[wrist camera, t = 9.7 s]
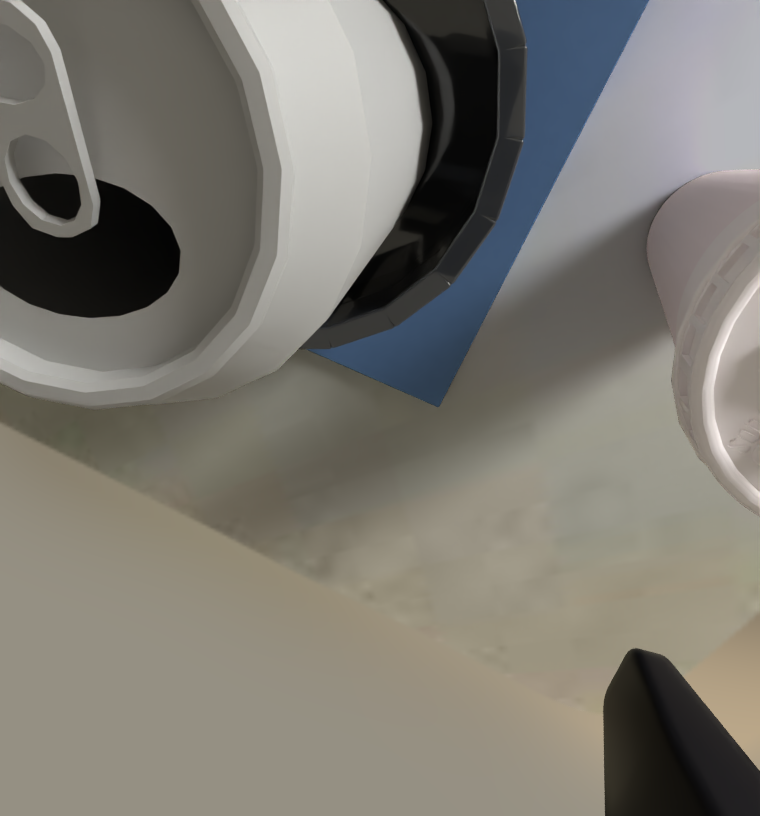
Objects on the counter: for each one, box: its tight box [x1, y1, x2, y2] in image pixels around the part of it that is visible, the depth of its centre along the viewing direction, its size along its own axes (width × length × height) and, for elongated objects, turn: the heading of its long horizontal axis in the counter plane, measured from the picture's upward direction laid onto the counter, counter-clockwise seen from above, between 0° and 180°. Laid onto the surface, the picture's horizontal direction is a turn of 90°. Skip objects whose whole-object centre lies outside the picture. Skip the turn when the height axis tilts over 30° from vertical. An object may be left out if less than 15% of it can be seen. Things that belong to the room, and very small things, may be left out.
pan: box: [299, 0, 528, 349], centre depth 16 cm, size 11×11×4 cm
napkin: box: [307, 0, 649, 407], centre depth 18 cm, size 14×14×1 cm
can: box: [0, 0, 432, 410], centre depth 12 cm, size 8×8×12 cm
